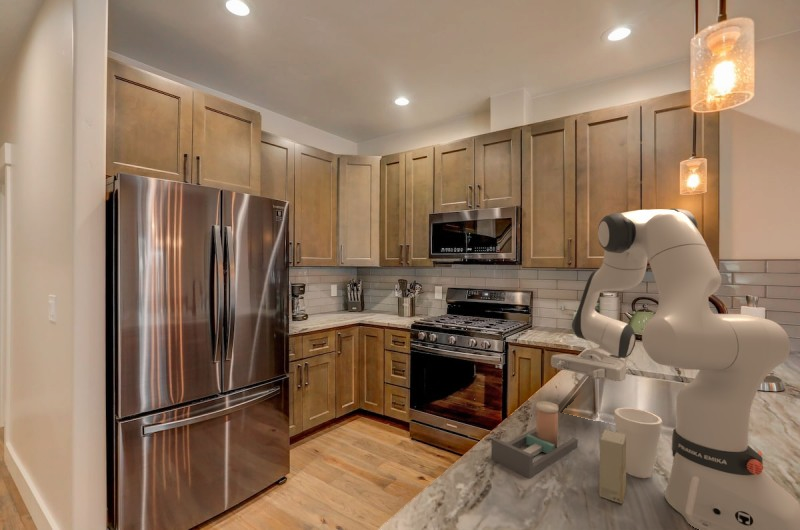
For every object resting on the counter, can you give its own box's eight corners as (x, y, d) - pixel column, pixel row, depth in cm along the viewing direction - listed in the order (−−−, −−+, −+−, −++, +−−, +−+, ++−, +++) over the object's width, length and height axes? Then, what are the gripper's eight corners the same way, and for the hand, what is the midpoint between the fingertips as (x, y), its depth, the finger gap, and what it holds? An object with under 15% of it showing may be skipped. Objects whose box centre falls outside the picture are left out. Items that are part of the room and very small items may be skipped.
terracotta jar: (561, 447, 97) (562, 406, 97) (551, 454, 94) (552, 411, 94) (542, 439, 102) (543, 399, 101) (531, 445, 98) (532, 404, 98)
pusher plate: (528, 443, 99) (528, 434, 99) (554, 454, 93) (554, 444, 93) (513, 451, 94) (513, 442, 94) (539, 463, 89) (539, 453, 89)
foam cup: (637, 484, 82) (639, 426, 81) (604, 462, 90) (605, 409, 90) (670, 478, 84) (672, 421, 84) (634, 457, 93) (636, 406, 93)
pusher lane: (540, 432, 106) (541, 414, 106) (577, 446, 98) (577, 428, 98) (491, 459, 91) (491, 438, 91) (529, 478, 83) (529, 456, 83)
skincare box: (622, 505, 75) (624, 445, 74) (597, 496, 77) (599, 438, 77) (626, 490, 80) (627, 434, 79) (602, 482, 82) (604, 428, 82)
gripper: (563, 347, 124) (541, 353, 115) (631, 359, 108) (612, 366, 99) (562, 366, 123) (541, 373, 115) (631, 381, 108) (612, 390, 99)
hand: (574, 370), depth 107 cm, fingers open, 8 cm apart
